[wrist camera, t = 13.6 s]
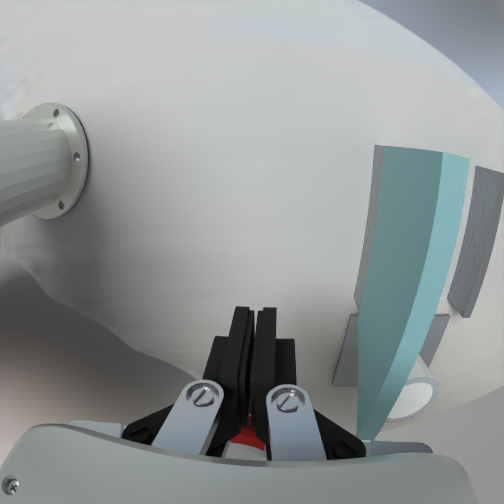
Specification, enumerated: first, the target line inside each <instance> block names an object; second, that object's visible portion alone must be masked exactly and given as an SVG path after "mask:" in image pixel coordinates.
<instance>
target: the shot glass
mask: <svg viewBox="0 0 504 504" xmlns="http://www.w3.org/2000/svg"><path fill="white" fill-rule="evenodd" d="M438 388H439V385H438V383H437V382H436V380H435V378H434V377H433V375H432V374H431V372H430V371H429V369H428V367H427V366H426V364H425V363H424V361H423V360H422V358H421V357H420V355H418V357H417V359H416V362H415V364H414V366H413V368H412V370H411V373H410V375H409V377H408V379H407V381H406V383H405V385H404V387H403V389H402V391H401V393H400V395H399V397H398V399H397V401H396V402H395V404H394V406H393V408H392V410H391V412H390V413H389V415H388V417H387V419H386V421H385V422H396V421H402V420H405V419H408V418H411V417H413V416H415V415H417V414H418V413H420V412H422V411H423V410H425V409H426V408H427V407H428V406H429V405H430V404H431V403H432V402H433V400H434V399H435V397H436V396H437V394H438Z"/></svg>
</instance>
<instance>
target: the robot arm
mask: <svg viewBox="0 0 504 504" xmlns="http://www.w3.org/2000/svg"><path fill="white" fill-rule="evenodd" d="M87 167H88V150H87V143H86V138H85V135H84V131H83V128H82V126H81V124H80V122H79V120H78V119H77V117H76V116H75V115H74V113H73V112H72V111H71V110H69V109H68V108H67V107H65V106H63V105H60V104H55V103H45V104H41V105H38V106H36V107H34V108H33V109H31V110H30V111H29V112H28V113H27V114H26V115H25V116H24V117H23V118H22V119H18V120H7V121H0V227H2V226H4V225H6V224H8V223H10V222H12V221H14V220H17V219H19V218H21V217H23V216H25V215H28V214H30V213H31V214H32V215H33V216H35V217H38V218H40V219H54V218H56V217H59V216H61V215H63V214H64V213H66V212H68V211H69V210H70V209H71V208H72V207H73V206H74V205H75V203H76V201H77V200H78V198H79V197H80V194H81V192H82V190H83V187H84V183H85V179H86V175H87ZM276 310H277V308H269V307H264V308H263V311H258V316H257V324H256V333H255V326H254V310H249V307H239V306H236V308H235V312H234V316H233V320H232V324H231V328H230V332H229V337H224V336H216V337H215V339H214V342H213V345H212V348H211V352H210V355H209V358H208V362H207V365H206V368H205V372H204V375H203V379H202V380H197V381H194V382H191V383H189V384H188V385H186V387H185V388H184V389H183V390H182V392H181V394H180V396H179V397H178V399H177V401H176V403H175V404H173V405H171V406H168V407H166V408H164V409H162V410H160V411H158V412H155V413H153V414H151V415H149V416H147V417H144V418H142V419H140V420H137V421H135V422H133V423H131V424H129V425H128V426H123V425H122V424H119V423H106V422H94V421H84V420H74V421H72V422H69V423H68V424H67V425H66V424H40V425H36V426H33V427H31V428H30V429H28V430H27V431H26V432H25V433H24V434H23V435H22V436H21V437H20V438H19V440H18V441H17V442H16V444H15V445H14V447H13V448H12V449H11V451H10V452H9V454H8V456H7V457H6V459H5V461H4V462H3V464H2V466H1V468H0V504H478V500H477V497H476V494H475V491H474V488H473V486H472V483H471V481H470V479H469V477H468V475H467V473H466V471H465V470H464V468H463V467H462V466H461V464H460V463H459V462H457V461H456V460H454V459H453V458H450V457H447V456H444V455H439V454H433V452H432V450H431V448H430V447H429V446H428V445H425V444H424V443H419V442H387V441H371V442H370V443H364V442H362V441H361V440H360V439H358V438H357V437H356V436H354V435H352V434H351V433H349V432H348V431H346V430H344V429H343V428H341V427H340V426H338V425H337V424H335V423H334V422H332V421H331V420H329V419H328V418H326V417H325V416H323V415H322V414H320V413H319V412H317V411H316V410H314V409H313V407H312V404H311V400H310V397H309V395H308V393H307V392H306V391H305V390H304V389H303V388H301V387H299V386H297V384H296V361H295V341H294V339H276ZM250 400H251V427H256V437H257V438H258V439H259V440H261V441H262V442H263V443H264V444H265V456H266V461H256V460H241V459H229V458H225V456H226V453H227V451H228V448H229V445H230V440H231V439H233V438H234V437H236V436H237V435H238V434H241V431H242V427H247V425H248V417H249V408H250Z"/></svg>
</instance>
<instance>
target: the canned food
mask: <svg viewBox="0 0 504 504" xmlns="http://www.w3.org/2000/svg"><path fill="white" fill-rule="evenodd" d="M225 458H229V459H241V460H256V461H266V456H265V444H264V443H263V442H262V441H261V440H259V439H258V438H257V437H256V427H251V400H250V408H249V417H248V425H247V427H242V431H241V434H238V435H237V436H236V437H234V438H233V439H231V440H230V445H229V448H228V451H227V453H226V456H225Z"/></svg>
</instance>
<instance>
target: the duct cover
mask: <svg viewBox="0 0 504 504" xmlns="http://www.w3.org/2000/svg"><path fill="white" fill-rule="evenodd" d="M468 163H469V159H468V158H464V157H460V156H456V155H452V154H448V153H444V152H437V151H429V150H421V149H412V148H403V147H392V146H384V156H383V168H382V178H381V188H380V197H379V205H378V212H377V219H376V226H375V233H374V239H373V245H372V251H371V256H370V262H369V267H368V272H367V277H366V282H365V287H364V292H363V296H362V301H361V305H360V309H359V313H358V318H357V329H358V415H357V435H356V437H357V438H358V439H360V440H374V439H375V437H376V435H377V434H378V432H379V431H380V429H381V427H382V426H383V424H384V422H385V421H386V419H387V417H388V415H389V413H390V412H391V410H392V408H393V406H394V404H395V402H396V401H397V399H398V397H399V395H400V393H401V391H402V389H403V387H404V385H405V383H406V381H407V379H408V377H409V375H410V373H411V370H412V368H413V366H414V364H415V362H416V359H417V357H418V355H419V352H420V350H421V348H422V345H423V343H424V340H425V338H426V335H427V333H428V330H429V328H430V325H431V322H432V320H433V317H434V314H435V311H436V308H437V305H438V303H439V299H440V296H441V293H442V290H443V287H444V284H445V280H446V277H447V273H448V270H449V266H450V262H451V259H452V255H453V251H454V247H455V242H456V238H457V233H458V229H459V224H460V219H461V213H462V208H463V202H464V195H465V188H466V181H467V173H468Z"/></svg>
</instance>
